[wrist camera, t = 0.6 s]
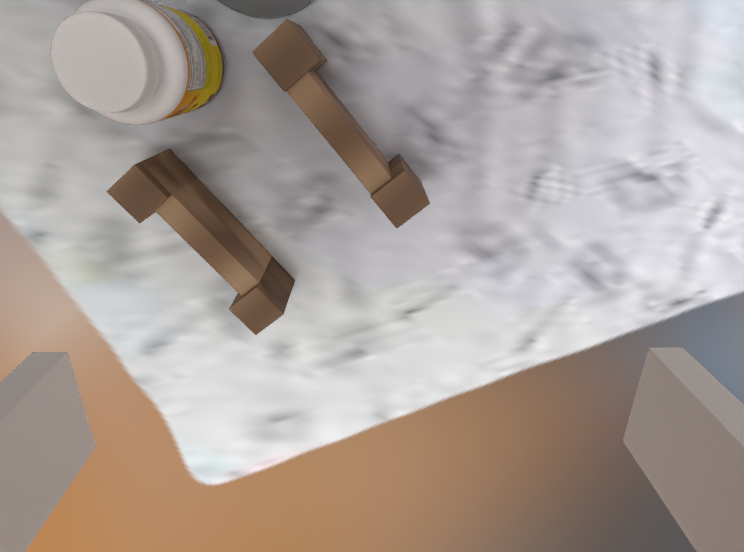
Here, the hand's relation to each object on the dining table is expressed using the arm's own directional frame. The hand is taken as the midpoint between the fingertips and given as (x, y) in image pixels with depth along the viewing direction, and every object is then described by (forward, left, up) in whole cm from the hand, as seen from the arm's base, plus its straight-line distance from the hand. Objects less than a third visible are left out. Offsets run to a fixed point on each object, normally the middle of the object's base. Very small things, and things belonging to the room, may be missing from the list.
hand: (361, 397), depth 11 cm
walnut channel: (-3, -4, -23) cm, 24 cm away
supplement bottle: (-12, -4, -23) cm, 27 cm away
